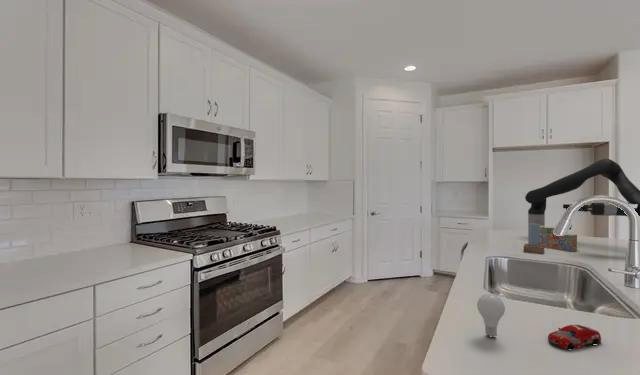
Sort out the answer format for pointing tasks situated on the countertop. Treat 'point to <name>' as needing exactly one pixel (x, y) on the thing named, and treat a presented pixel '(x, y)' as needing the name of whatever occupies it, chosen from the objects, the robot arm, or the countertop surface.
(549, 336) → the race car
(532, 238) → the pillar block
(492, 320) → the lightbulb
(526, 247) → the base block
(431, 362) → the countertop surface
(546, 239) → the stack of blocks
